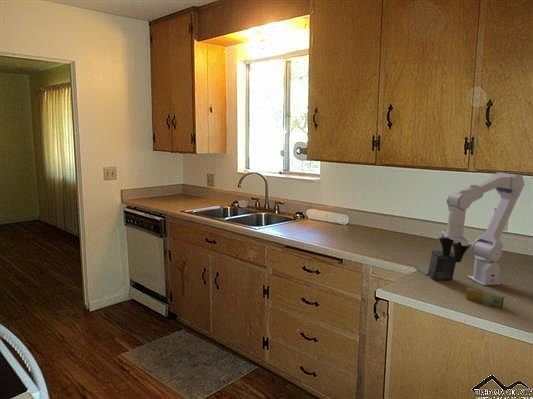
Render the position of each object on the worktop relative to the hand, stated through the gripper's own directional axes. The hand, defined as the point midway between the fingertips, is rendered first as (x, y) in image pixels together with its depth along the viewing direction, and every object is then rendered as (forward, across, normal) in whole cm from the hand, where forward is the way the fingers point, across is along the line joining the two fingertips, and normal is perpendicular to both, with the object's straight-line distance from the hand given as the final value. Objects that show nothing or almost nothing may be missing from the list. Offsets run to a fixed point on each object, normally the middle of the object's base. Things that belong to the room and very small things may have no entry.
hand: (451, 258), depth 160 cm
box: (+10, -8, +1) cm, 13 cm away
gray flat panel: (+11, -16, 0) cm, 19 cm away
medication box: (+11, +17, +4) cm, 20 cm away
